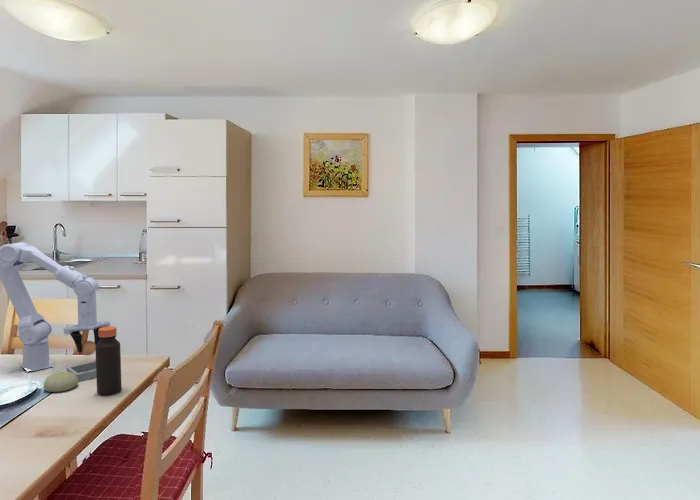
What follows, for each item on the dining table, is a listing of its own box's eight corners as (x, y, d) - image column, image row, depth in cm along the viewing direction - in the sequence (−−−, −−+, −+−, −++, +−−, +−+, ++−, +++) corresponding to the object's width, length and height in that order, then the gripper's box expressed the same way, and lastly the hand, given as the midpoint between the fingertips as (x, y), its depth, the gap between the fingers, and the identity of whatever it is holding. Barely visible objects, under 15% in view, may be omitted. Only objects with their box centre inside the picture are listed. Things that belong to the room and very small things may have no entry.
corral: (66, 374, 158) (66, 367, 158) (100, 366, 166) (99, 359, 165) (76, 382, 151) (76, 374, 151) (111, 373, 159) (110, 366, 159)
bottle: (110, 385, 149) (108, 324, 147) (126, 389, 147) (124, 326, 145) (91, 393, 143) (89, 329, 141) (108, 397, 140) (106, 332, 138)
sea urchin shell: (64, 389, 141) (47, 369, 142) (49, 405, 143) (33, 385, 143) (87, 378, 150) (71, 359, 151) (73, 393, 152) (57, 375, 152)
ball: (78, 354, 166) (77, 341, 165) (93, 351, 170) (92, 338, 169) (83, 358, 163) (82, 344, 162) (98, 354, 166) (98, 341, 166)
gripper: (68, 318, 156) (69, 357, 158) (113, 311, 167) (114, 348, 169) (61, 314, 161) (62, 352, 162) (105, 308, 172) (106, 344, 173)
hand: (88, 350), depth 166 cm, fingers closed on ball, 5 cm apart
